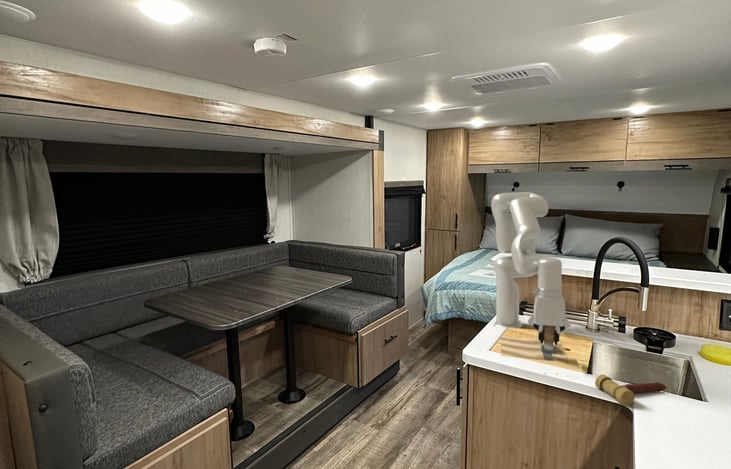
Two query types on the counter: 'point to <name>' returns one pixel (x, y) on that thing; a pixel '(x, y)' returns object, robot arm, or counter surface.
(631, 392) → the gavel
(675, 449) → the counter surface
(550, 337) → the brown grey cylinder
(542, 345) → the stud finder
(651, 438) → the counter surface
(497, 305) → the robot arm
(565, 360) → the subfloor board
